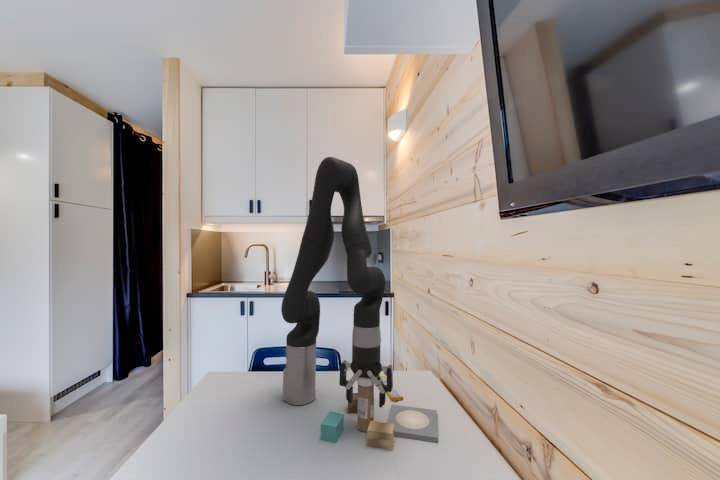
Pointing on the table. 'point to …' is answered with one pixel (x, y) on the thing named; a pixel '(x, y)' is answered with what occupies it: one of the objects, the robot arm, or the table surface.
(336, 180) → the robot arm
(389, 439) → the oak block
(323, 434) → the teal block
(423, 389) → the table surface
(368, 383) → the sprinkles bottle
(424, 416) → the slate board
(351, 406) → the walnut block
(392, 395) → the candy bar
